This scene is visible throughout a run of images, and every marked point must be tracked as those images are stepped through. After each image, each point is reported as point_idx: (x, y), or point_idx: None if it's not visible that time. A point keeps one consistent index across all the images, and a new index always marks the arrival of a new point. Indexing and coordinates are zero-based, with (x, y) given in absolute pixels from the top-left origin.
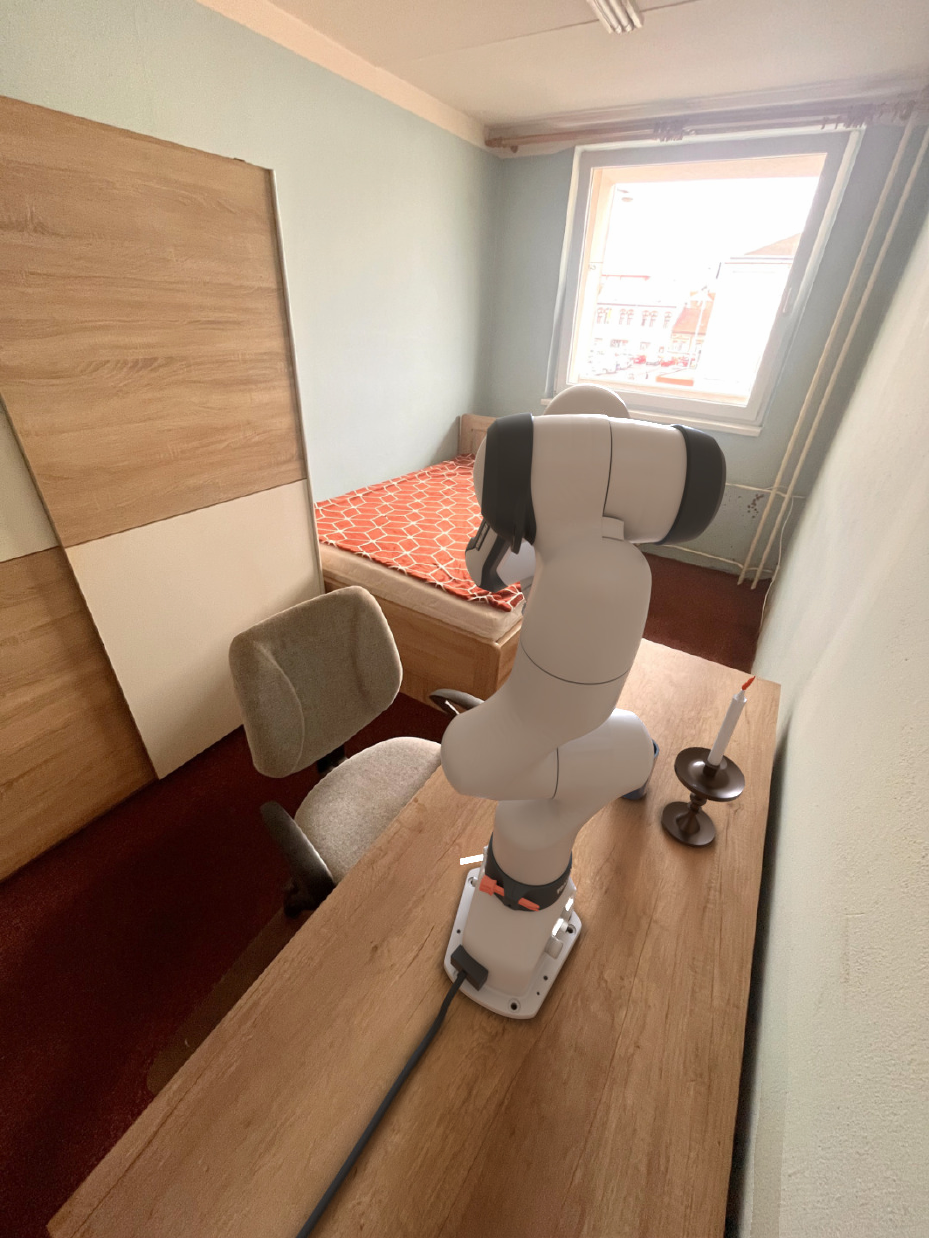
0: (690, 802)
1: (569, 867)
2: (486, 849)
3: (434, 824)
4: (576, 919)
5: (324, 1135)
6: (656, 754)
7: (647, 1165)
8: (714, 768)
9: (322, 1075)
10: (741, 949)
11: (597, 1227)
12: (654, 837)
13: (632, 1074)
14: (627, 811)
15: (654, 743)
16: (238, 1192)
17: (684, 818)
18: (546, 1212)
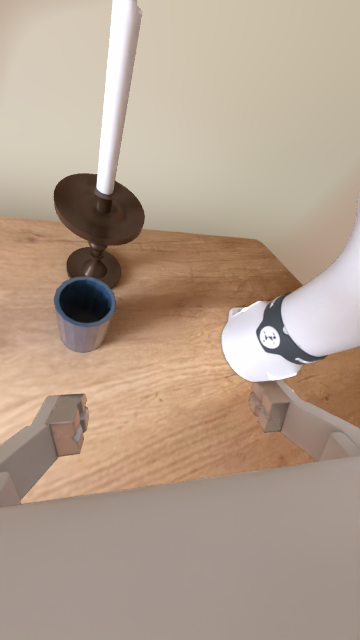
0: (94, 256)
1: (290, 292)
2: (298, 369)
3: (270, 454)
4: (234, 311)
5: (350, 353)
6: (88, 278)
7: (265, 258)
8: (120, 187)
9: (350, 369)
10: (167, 231)
11: (286, 268)
12: (130, 291)
13: (253, 268)
14: (120, 320)
15: (65, 285)
16: None
17: (100, 267)
18: (297, 281)
